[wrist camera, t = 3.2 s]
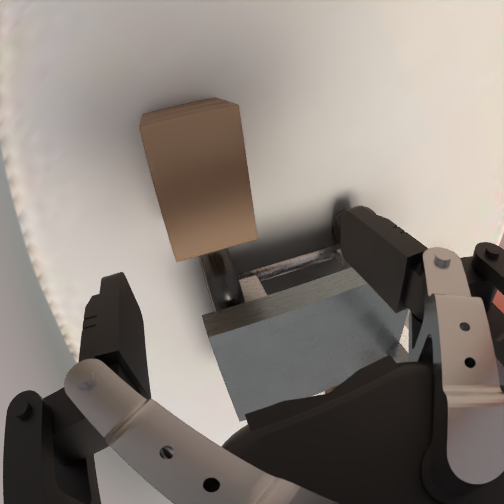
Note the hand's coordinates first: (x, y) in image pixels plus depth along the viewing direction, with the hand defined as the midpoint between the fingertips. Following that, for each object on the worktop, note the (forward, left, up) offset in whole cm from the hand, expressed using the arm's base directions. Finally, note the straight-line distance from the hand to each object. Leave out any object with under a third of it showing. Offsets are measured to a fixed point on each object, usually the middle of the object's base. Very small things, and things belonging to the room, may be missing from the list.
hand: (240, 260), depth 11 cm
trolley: (+14, +6, -13) cm, 20 cm away
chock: (0, 0, -13) cm, 13 cm away
